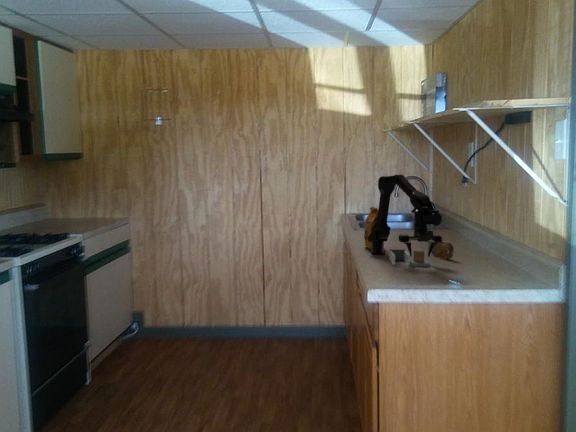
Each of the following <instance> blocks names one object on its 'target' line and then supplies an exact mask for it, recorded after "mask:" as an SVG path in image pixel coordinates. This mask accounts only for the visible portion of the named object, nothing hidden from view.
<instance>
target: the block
mask: <svg viewBox="0 0 576 432" xmlns="http://www.w3.org/2000/svg"><path fill="white" fill-rule="evenodd" d="M413 260H414V261H415V262H424V260H425V250H424V249H413Z"/></svg>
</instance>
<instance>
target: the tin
mask: <svg viewBox="0 0 576 432" xmlns="http://www.w3.org/2000/svg"><path fill="white" fill-rule="evenodd" d="M437 243H438V244H435V245H434V247H433V249H432V251H431V255H432V256H433V257H435V258H438V257H439V258H438V259H442V258H443V259H442V260H450V259H452V257H453V256H454V245H453V244H452V242H449V241H445V240H442V242H437Z"/></svg>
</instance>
